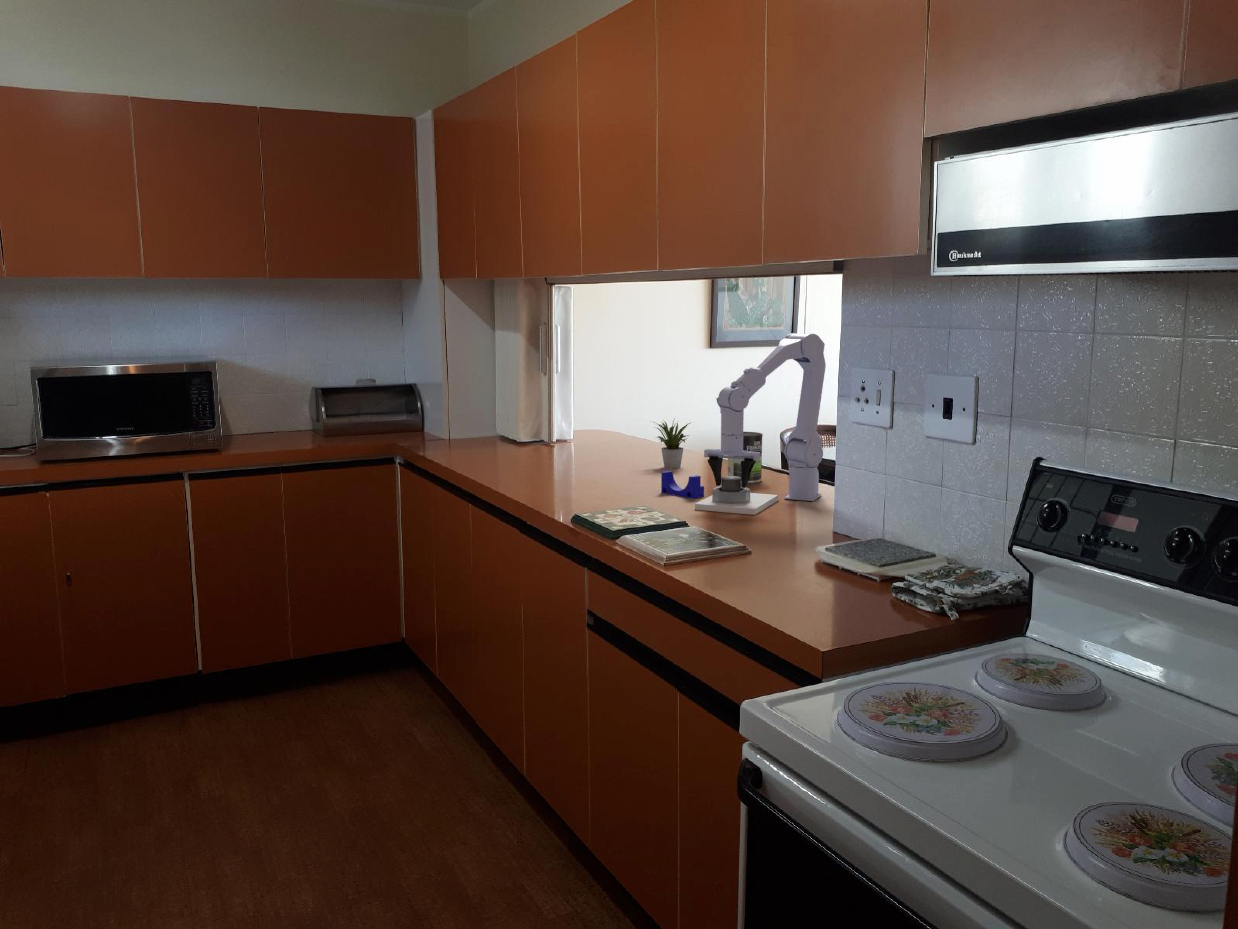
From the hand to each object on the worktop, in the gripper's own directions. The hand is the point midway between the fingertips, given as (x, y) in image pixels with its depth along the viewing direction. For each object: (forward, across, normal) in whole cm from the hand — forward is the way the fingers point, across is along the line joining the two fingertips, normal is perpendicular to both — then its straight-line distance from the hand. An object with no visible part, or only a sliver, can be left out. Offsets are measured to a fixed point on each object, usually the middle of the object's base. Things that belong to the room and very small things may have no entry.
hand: (731, 486), depth 257 cm
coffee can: (+6, -9, +38) cm, 39 cm away
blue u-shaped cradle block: (+6, -18, +10) cm, 21 cm away
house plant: (+5, -39, +51) cm, 64 cm away
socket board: (+5, +1, +2) cm, 6 cm away
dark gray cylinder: (+4, 0, 0) cm, 4 cm away
